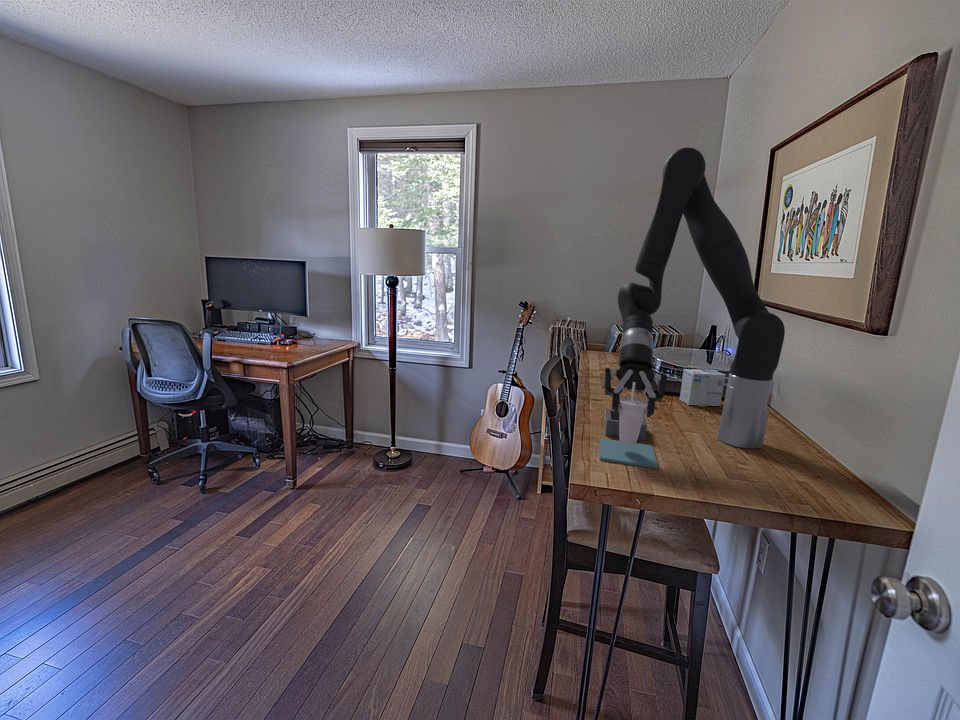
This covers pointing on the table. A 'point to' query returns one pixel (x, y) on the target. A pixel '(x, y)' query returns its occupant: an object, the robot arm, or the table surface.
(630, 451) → the coaster
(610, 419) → the frame
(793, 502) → the table surface
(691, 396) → the light bulb box
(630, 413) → the smoothie
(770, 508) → the table surface
